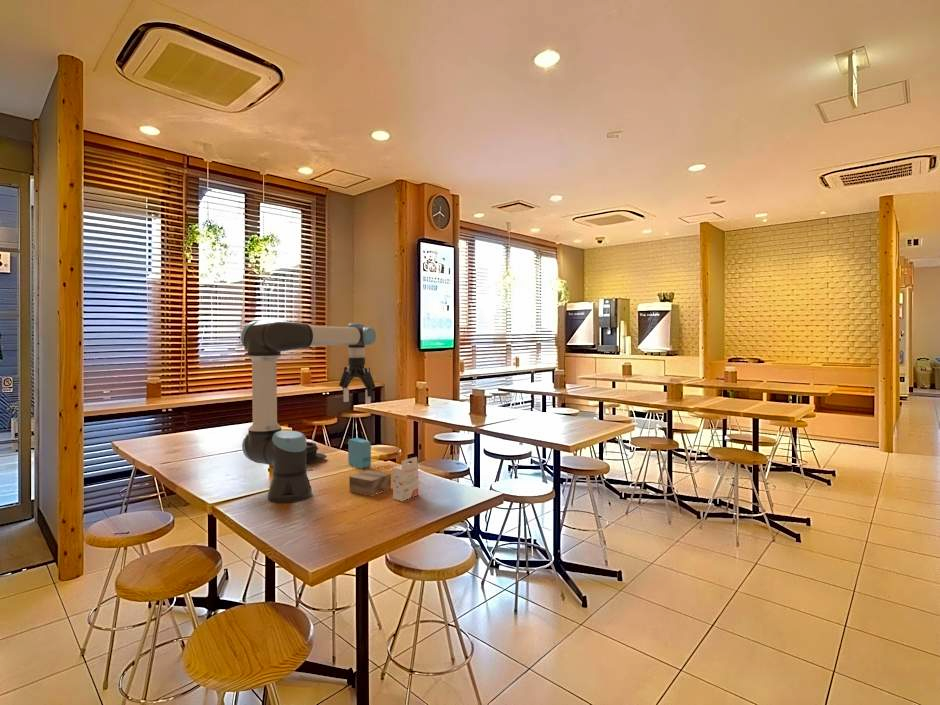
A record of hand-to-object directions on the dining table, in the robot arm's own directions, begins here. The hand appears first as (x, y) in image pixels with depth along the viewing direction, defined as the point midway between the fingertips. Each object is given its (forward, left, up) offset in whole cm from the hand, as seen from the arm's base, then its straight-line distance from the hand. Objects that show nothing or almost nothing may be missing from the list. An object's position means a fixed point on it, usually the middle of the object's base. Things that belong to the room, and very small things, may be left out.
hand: (356, 402), depth 232 cm
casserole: (-14, +23, -28) cm, 39 cm away
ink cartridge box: (-28, -50, -28) cm, 64 cm away
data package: (-4, -5, -28) cm, 29 cm away
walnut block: (-28, -33, -28) cm, 52 cm away
